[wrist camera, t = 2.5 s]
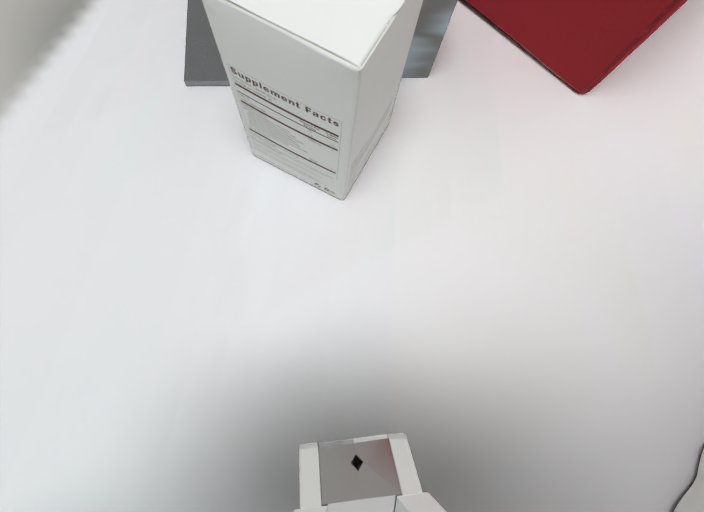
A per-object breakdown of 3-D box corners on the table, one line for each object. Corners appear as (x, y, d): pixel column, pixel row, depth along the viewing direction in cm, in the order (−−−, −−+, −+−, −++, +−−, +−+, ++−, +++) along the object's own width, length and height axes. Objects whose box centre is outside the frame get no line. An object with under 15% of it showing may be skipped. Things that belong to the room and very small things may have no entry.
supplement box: (302, 78, 34) (291, -131, 19) (390, 123, 33) (445, -58, 19) (248, 155, 31) (188, -20, 17) (342, 204, 31) (363, 68, 16)
